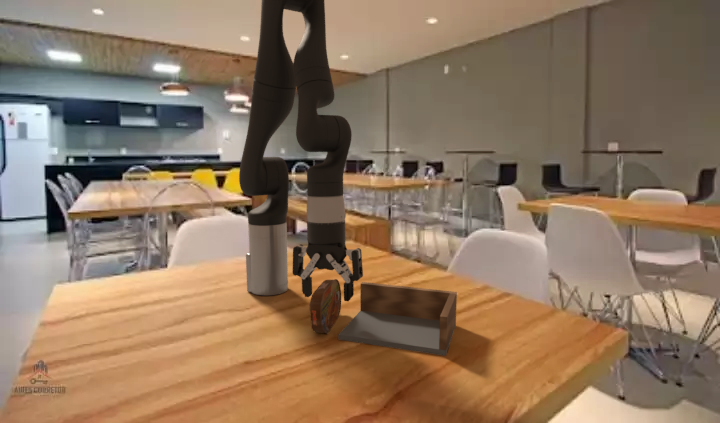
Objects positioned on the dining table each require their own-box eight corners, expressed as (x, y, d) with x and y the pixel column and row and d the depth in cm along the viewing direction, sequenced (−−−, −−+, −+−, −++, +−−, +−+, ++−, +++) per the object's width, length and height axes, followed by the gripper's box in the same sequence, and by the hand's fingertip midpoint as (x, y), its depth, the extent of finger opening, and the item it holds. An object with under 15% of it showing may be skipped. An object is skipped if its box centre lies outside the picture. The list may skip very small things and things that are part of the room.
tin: (323, 340, 83) (323, 297, 81) (307, 339, 83) (306, 296, 82) (342, 311, 97) (342, 274, 96) (328, 310, 98) (328, 273, 97)
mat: (338, 339, 83) (338, 334, 83) (362, 313, 96) (362, 308, 96) (445, 355, 77) (446, 350, 76) (455, 325, 90) (455, 320, 90)
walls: (338, 334, 83) (338, 303, 82) (362, 308, 96) (362, 281, 95) (446, 350, 76) (447, 317, 76) (455, 320, 90) (456, 291, 89)
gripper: (284, 219, 86) (287, 300, 88) (353, 222, 81) (355, 307, 83) (301, 214, 93) (304, 289, 95) (366, 217, 88) (367, 295, 90)
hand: (327, 298), depth 89 cm, fingers open, 8 cm apart
